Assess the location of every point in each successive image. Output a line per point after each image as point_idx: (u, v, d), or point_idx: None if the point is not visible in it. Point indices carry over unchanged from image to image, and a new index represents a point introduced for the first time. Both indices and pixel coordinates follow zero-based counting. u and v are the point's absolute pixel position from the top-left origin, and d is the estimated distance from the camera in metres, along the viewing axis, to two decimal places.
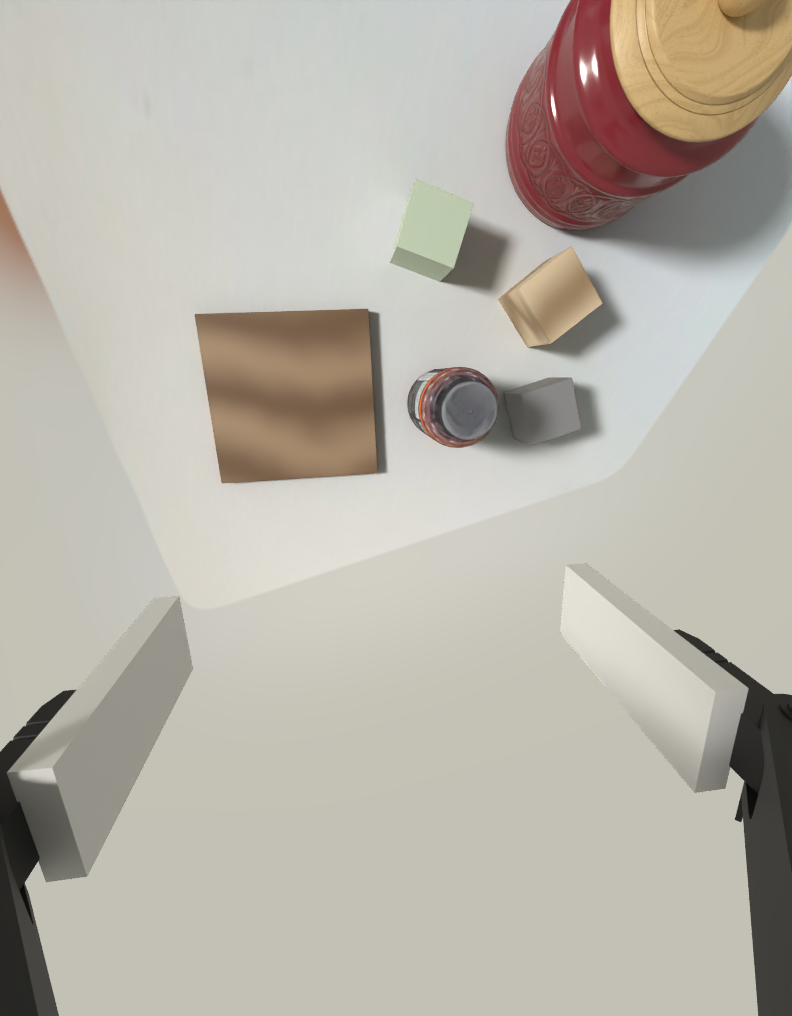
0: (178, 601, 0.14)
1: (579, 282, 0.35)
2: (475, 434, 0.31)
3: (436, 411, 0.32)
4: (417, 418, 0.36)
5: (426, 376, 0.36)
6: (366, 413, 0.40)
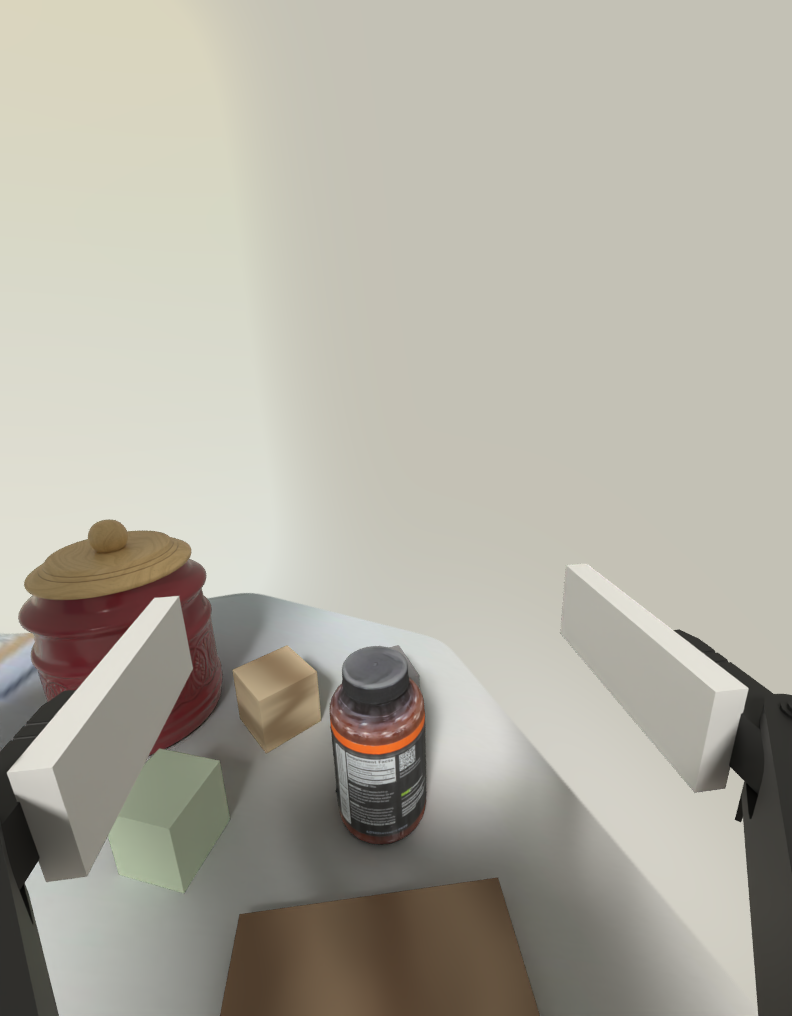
0: (178, 601, 0.14)
1: (265, 661, 0.38)
2: (400, 658, 0.27)
3: (378, 712, 0.25)
4: (396, 773, 0.26)
5: (343, 786, 0.27)
6: (402, 906, 0.24)
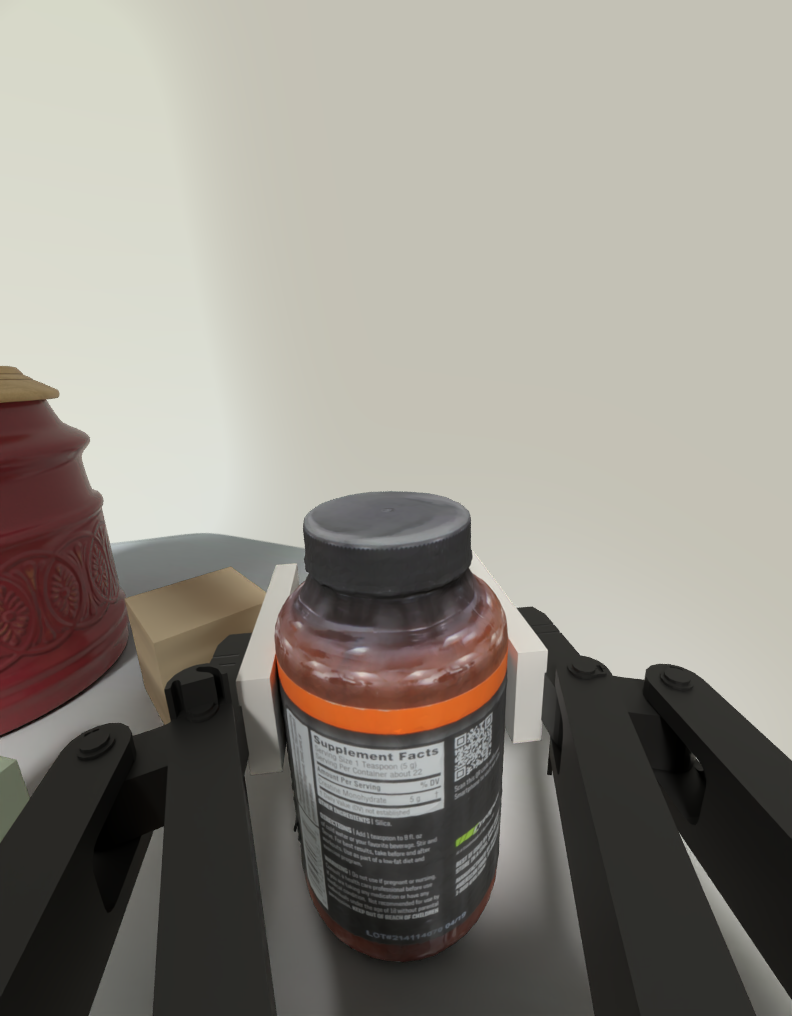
0: (297, 567, 0.16)
1: (187, 586, 0.22)
2: (448, 502, 0.11)
3: (399, 617, 0.09)
4: (445, 787, 0.10)
5: (307, 819, 0.11)
6: None
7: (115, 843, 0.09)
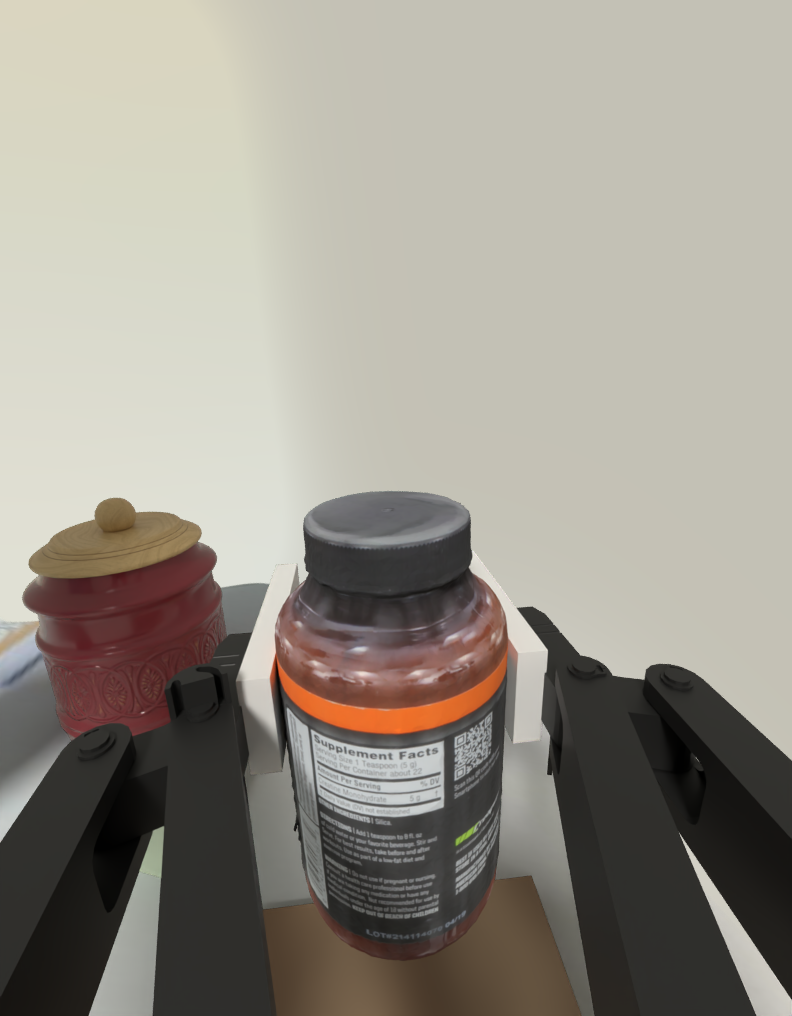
0: (297, 567, 0.16)
1: None
2: (448, 501, 0.11)
3: (399, 617, 0.09)
4: (445, 787, 0.10)
5: (308, 819, 0.11)
6: None
7: (115, 843, 0.09)
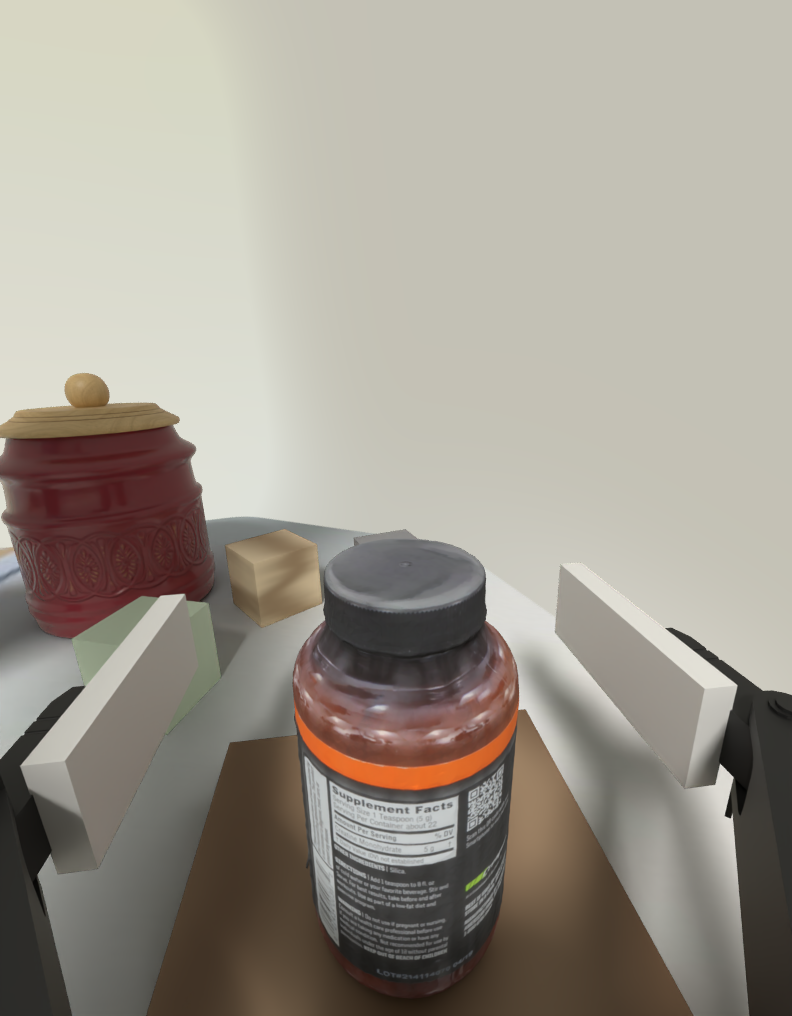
0: (184, 599, 0.14)
1: (261, 539, 0.35)
2: (463, 555, 0.12)
3: (418, 676, 0.10)
4: (457, 837, 0.10)
5: (322, 861, 0.11)
6: None
7: None
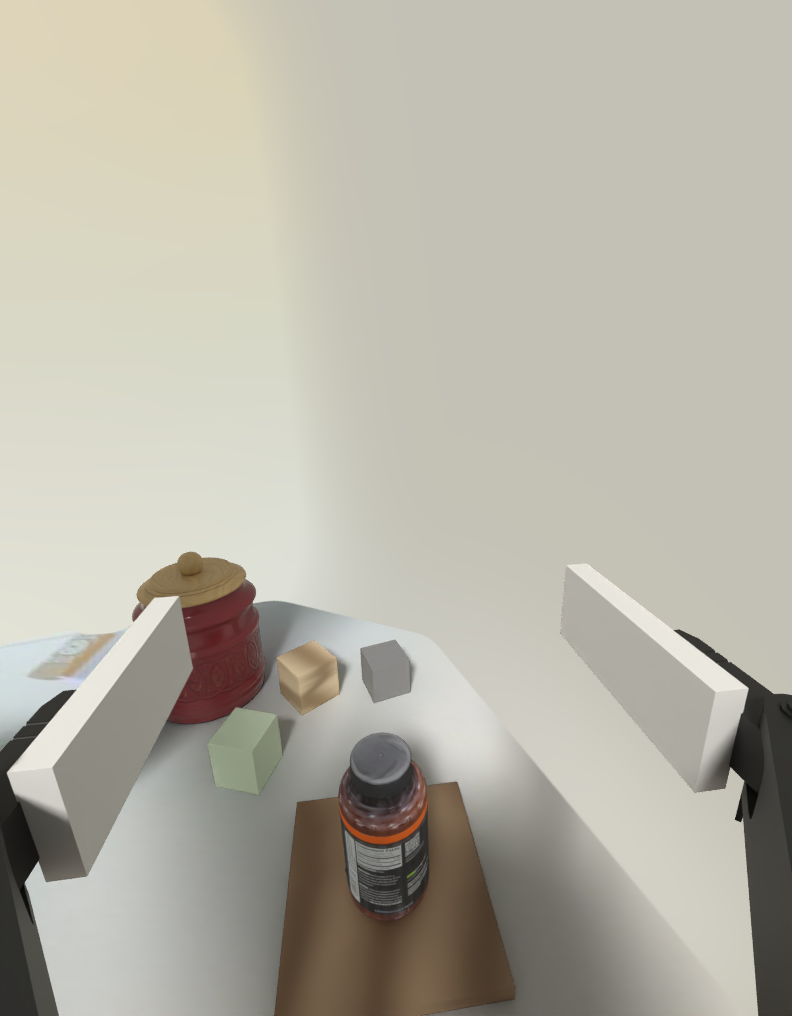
0: (178, 601, 0.14)
1: (299, 651, 0.53)
2: (404, 747, 0.29)
3: (385, 803, 0.27)
4: (402, 859, 0.28)
5: (352, 869, 0.29)
6: None
7: None
